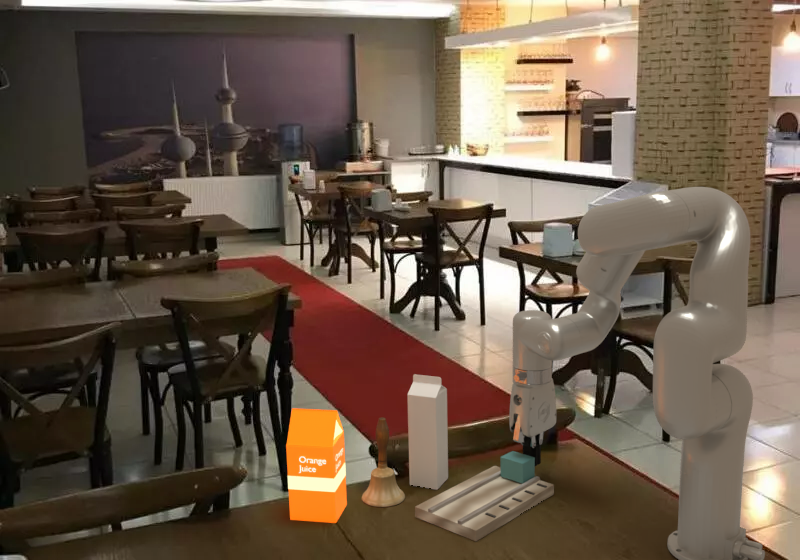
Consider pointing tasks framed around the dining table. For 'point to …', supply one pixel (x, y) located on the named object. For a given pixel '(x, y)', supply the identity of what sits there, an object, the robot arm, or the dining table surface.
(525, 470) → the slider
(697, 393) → the robot arm
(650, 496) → the dining table surface
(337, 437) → the orange juice
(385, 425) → the hand bell
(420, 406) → the milk
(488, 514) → the count board
